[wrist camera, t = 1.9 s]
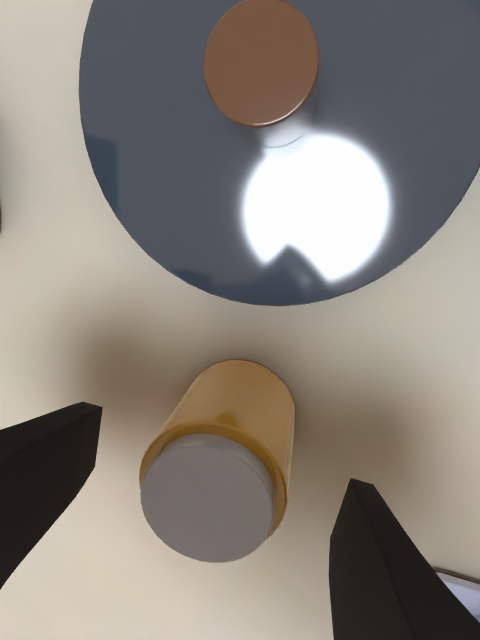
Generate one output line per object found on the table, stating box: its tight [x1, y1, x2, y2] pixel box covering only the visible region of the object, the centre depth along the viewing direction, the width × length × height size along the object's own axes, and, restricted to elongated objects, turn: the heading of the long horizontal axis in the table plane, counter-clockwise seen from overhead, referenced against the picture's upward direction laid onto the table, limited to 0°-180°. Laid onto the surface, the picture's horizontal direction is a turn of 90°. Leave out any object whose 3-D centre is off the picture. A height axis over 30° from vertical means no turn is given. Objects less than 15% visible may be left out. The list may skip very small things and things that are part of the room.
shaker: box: [139, 360, 295, 563], centre depth 13 cm, size 4×4×5 cm
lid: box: [79, 0, 480, 306], centre depth 11 cm, size 12×12×4 cm
